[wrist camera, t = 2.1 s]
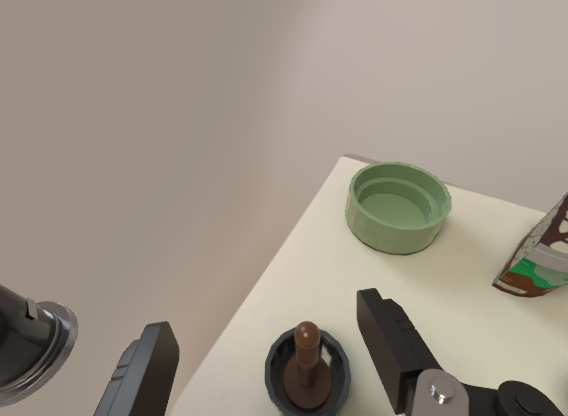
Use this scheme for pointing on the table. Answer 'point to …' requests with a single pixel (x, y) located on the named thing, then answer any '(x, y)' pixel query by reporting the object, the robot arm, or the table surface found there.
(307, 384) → the brown peg stand
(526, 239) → the food container
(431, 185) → the bowl
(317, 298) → the table surface
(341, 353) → the crock
